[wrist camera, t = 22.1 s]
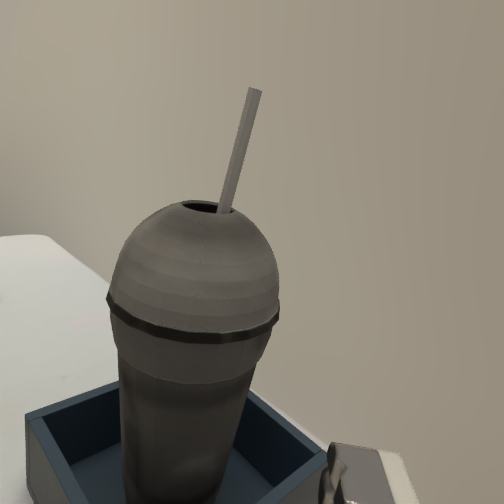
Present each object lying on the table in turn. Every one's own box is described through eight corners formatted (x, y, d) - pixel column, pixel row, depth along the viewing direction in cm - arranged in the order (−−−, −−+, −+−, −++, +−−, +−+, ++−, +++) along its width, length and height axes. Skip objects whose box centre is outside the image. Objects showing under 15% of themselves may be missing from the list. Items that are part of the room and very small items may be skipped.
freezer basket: (313, 523, 21) (332, 456, 19) (124, 712, 13) (133, 625, 12) (194, 405, 28) (201, 350, 26) (26, 485, 20) (24, 413, 19)
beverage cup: (144, 426, 24) (176, 83, 18) (255, 466, 23) (331, 107, 17) (60, 536, 17) (66, 48, 11) (211, 602, 16) (312, 82, 10)
